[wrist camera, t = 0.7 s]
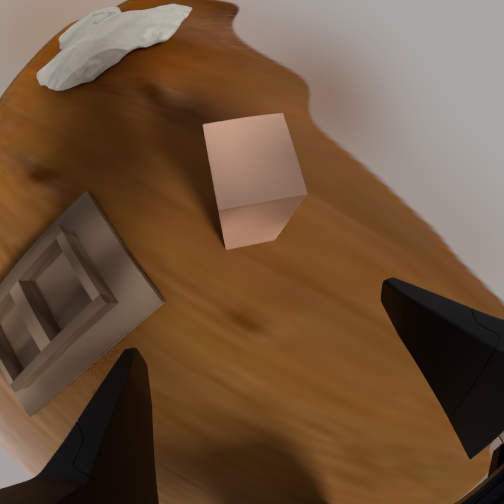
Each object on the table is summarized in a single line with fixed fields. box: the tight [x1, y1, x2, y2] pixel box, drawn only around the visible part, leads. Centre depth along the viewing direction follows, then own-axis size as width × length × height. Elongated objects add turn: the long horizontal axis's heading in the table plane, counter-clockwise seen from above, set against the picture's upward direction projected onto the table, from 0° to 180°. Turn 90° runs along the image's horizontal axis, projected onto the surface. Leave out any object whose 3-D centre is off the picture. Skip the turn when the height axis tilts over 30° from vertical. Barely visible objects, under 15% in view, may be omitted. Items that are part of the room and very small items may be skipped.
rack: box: [0, 191, 166, 417], centre depth 20 cm, size 12×20×4 cm, turn 130°
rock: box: [37, 4, 192, 91], centre depth 24 cm, size 21×5×15 cm
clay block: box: [203, 113, 307, 250], centre depth 18 cm, size 4×4×11 cm
